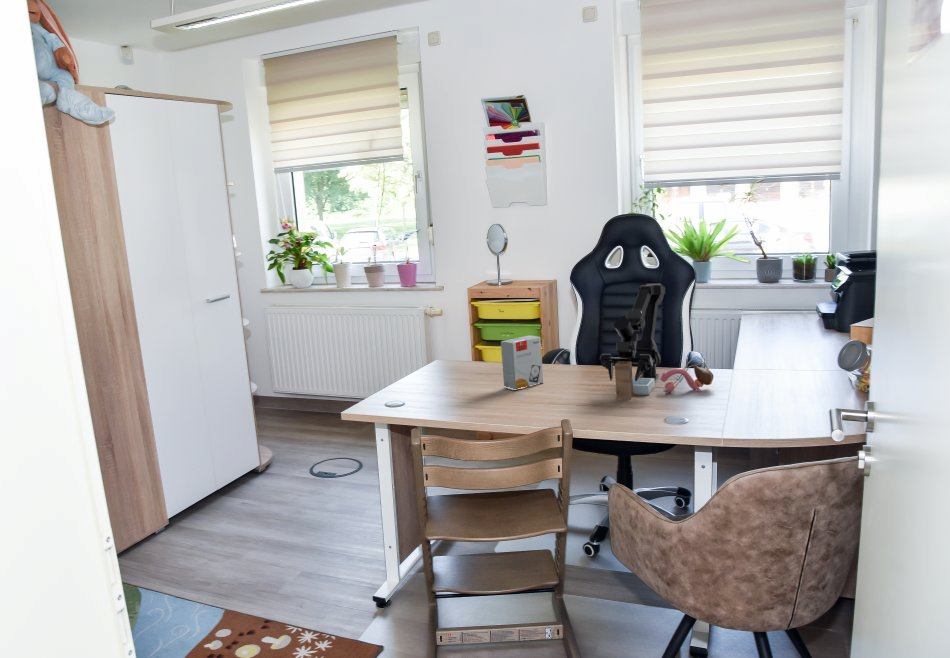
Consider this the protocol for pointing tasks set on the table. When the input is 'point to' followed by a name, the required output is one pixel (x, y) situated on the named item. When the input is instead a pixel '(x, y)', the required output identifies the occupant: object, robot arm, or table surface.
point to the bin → (643, 386)
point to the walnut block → (624, 380)
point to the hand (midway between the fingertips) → (623, 380)
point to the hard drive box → (522, 361)
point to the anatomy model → (689, 377)
